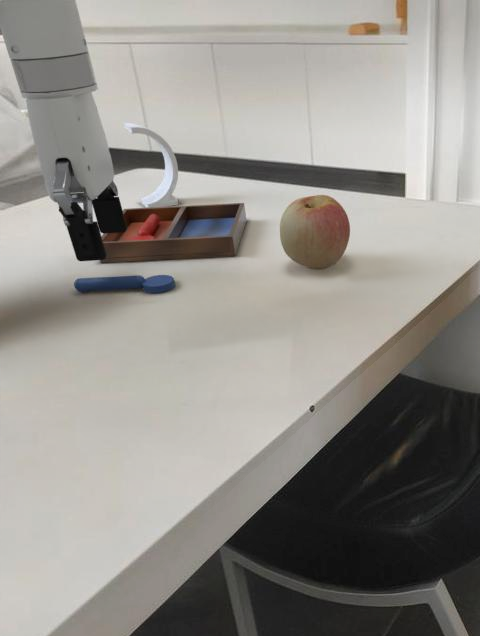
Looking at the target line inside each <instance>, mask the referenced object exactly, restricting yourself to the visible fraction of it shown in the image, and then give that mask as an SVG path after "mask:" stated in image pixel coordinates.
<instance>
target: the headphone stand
mask: <svg viewBox="0 0 480 636" xmlns="http://www.w3.org/2000/svg"><path fill="white" fill-rule="evenodd" d="M123 126H124V130H126V131H127V132H128V133H131V134H138V135H139V134H141V135H146V136H148V137H150V138H151V139H152V140H153V141H154V142H155V143H156V144H157V147H159V149H160V151H161V153H162V156H163V161H164V173H163V174H164V175H163V178H162V180H161V183H160V184H159V186H158V187H157V188H156V189H155V190H154V191H153V192H152V193H150V194H148V195H147V196H143V197H140V202H141V203H140V204H142V206H143V207H144V208H150V207H170V206H180V205H179V199H178V198H177V197H175V196H174V195H173V194H174V191H175V190H176V187H177V184H178V179H179V165H178V162H177V161H178V160H177V157H176V155H175V152H174V151H173V149H172V147H171V145H169V143H168V142H167V141H166V140H165V139H164V137H162V136H161V135H159V134H158V133H156V132H155V131H153V130H151V128H148V127H146V126H144V125H142V124H138V123H134V122H123Z"/></svg>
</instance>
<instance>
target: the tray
mask: <svg viewBox="0 0 480 636" xmlns="http://www.w3.org/2000/svg"><path fill="white" fill-rule="evenodd" d="M122 211H123V214H124V218H125V222H126V226H127V230H126V231H125V232H119V233H105V234H103V233H102V234H101V237H102V241H103V244H104V248H105V251H106V255H107V256H106V258H105V259H104V260H99V262H100V264H107V263H109V264H111V263H126V262H128V263H129V262H149V261H165V260H167V261H168V260H182V259H183V260H186V259H203V258H204V259H205V258H224V257H225V258H227V257H236V255H237V252H238V249H239V246H240V243H241V240H242V236H243V233H244V230H245V227H246V224H247V214H246V213H247V212H246V205H245V202H235V203H234V202H231V203H213V204H195V205H190V204H189V205H173V206H167V207H150V208H146V207H134V208H131V207H129V208H124V209H122ZM151 214H156V215H157V216H158V217H159V219H160V222H159V224H158V226H157V227H156V229H155V230H154V232H153V233H152V235H151V236H153V237H154V238H155V239H150V240H130V241H126V240H127V239H129V238H131V237H134V236H138V232H139V230H140V229H141V227H142V226H143V224H144V223H145V222H146V220H147V219H148V217H149V216H150V215H151Z"/></svg>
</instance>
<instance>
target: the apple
mask: <svg viewBox="0 0 480 636" xmlns="http://www.w3.org/2000/svg"><path fill="white" fill-rule="evenodd" d="M350 235H351V225H350V220H349V217H348V214H347V212H346V210H345V209H344V207H343V206H342V205H341V203H340V202H339V201H337V200H336V199H335V198H334V197H331V196H330V195H328V194H327V195H326V194H317V195H309V196H304V197H303V196H302V197H300V198H298V199H295V200H294V201H292V202H291V203H289V204H288V206H287V207H286V208H285V210H284V211H283V213H282V215H281V218H280V223H279V237H280V243H281V244H280V245H281V246H282V249H283V251H284V253H285V254H286V256H287V257H288V258H289V259H290V260H292V261H293V262H295V263H296V264H298V265H300V266H303V267H306V268H309V269H315V270H326V269H329V268H331V267H332V266H334V265H336V263H337V262H339V261H340V259H341V258H342V257H343V256H344V254H345V252H346V250H347V248H348V244H349V242H350V241H349V240H350Z"/></svg>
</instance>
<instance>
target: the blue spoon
mask: <svg viewBox="0 0 480 636" xmlns="http://www.w3.org/2000/svg"><path fill="white" fill-rule="evenodd" d="M73 287H74V289H75V290H76V291H77V292H79V293H89V292H92V293H93V292H109V291H128V290H129V291H130V290H131V291H132V290H142V289H143V291H144V292H145V293H147V294H163V293H167V292H169V291H170V292H171V291H172V290H173V289H175V287H176V281H175V277H173V276H172V275H170V274H156V275H151V276H148V277H146V278H145V277H144V276H142V275H140V274H139V275H138V274H136V275H119V276H118V275H117V276H116V275H115V276H99V277H98V276H95V277H79V278H76V279H75V280H74V282H73Z"/></svg>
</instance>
